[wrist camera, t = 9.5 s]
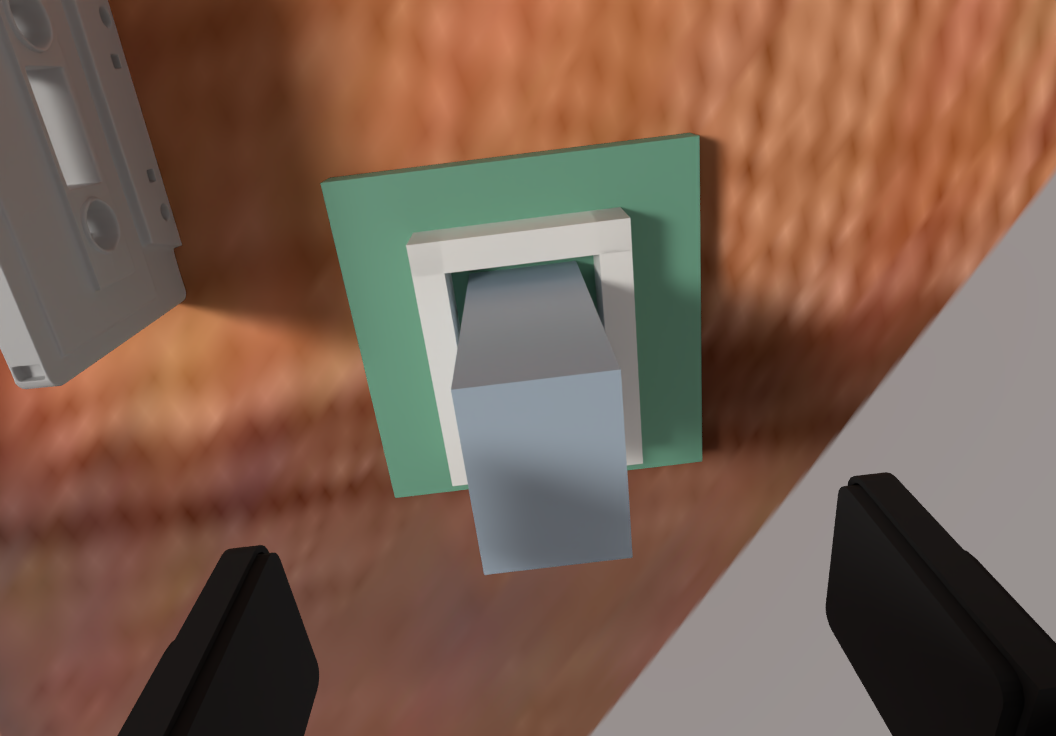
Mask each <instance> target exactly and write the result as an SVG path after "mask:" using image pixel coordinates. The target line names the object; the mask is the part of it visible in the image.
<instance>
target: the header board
mask: <svg viewBox="0 0 1056 736" xmlns="http://www.w3.org/2000/svg"><path fill="white" fill-rule="evenodd" d="M320 184H321V188H322V192H323V196H324V200H325V205H326V209H327V213H328V217H329V221H330V226H331V230H332V234H333V238H334V242H335V247H336V251H337V255H338V259H339V263H340V268H341V272H342V276H343V280H344V285H345V289H346V293H347V297H348V301H349V306H350V310H351V314H352V318H353V322H354V327H355V331H356V335H357V339H358V343H359V348H360V352H361V356H362V360H363V364H364V369H365V373H366V377H367V381H368V385H369V390H370V394H371V398H372V402H373V407H374V411H375V415H376V419H377V423H378V428H379V432H380V436H381V440H382V444H383V449H384V453H385V457H386V461H387V465H388V470H389V474H390V478H391V482H392V486H393V491H394V495H395V498H398V497H407V496H415V495H424V494H432V493H440V492H449V491H457V490H466V489H469V487H468V482H467V476H466V471H465V465H464V460H463V454H462V449H461V443H460V437H459V432H458V426H457V421H456V415H455V410H454V404H453V399H452V393H451V386H452V380H453V374H454V367H455V361H456V355H457V349H458V342H459V336H460V330H461V323H462V317H463V311H464V305H465V298H466V292H467V286H468V279H469V274H471V273H479V272H487V271H495V270H503V269H512V268H520V267H528V266H536V265H544V264H553V263H561V262H569V261H576V262H577V265H578V267H579V269H580V272H581V274H582V277H583V279H584V282H585V284H586V286H587V289H588V291H589V294H590V296H591V299H592V301H593V303H594V306H595V308H596V311H597V313H598V315H599V318H600V320H601V323H602V325H603V328H604V330H605V332H606V335H607V337H608V340H609V342H610V344H611V347H612V349H613V352H614V354H615V357H616V359H617V361H618V364H619V366H620V369H621V380H622V396H623V413H624V429H625V445H626V461H627V470H633V469H642V468H650V467H659V466H667V465H675V464H684V463H692V462H701V461H702V383H701V264H700V146H699V135H695V134H692V133H684V134H676V135H668V136H660V137H652V138H644V139H636V140H628V141H620V142H612V143H604V144H596V145H588V146H580V147H572V148H564V149H556V150H548V151H540V152H532V153H524V154H516V155H508V156H500V157H492V158H484V159H476V160H468V161H460V162H452V163H444V164H436V165H428V166H420V167H412V168H404V169H396V170H388V171H380V172H372V173H364V174H356V175H348V176H340V177H332V178H328V179H327V180H325V181H323V182H321V183H320Z"/></svg>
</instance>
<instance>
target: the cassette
mask: <svg viewBox="0 0 1056 736" xmlns="http://www.w3.org/2000/svg"><path fill="white" fill-rule="evenodd" d="M181 245H182V243H181V240H180V237H179V233H178V230H177V227H176V223H175V220H174V217H173V213H172V210H171V207H170V204H169V200H168V197H167V194H166V190H165V187H164V184H163V181H162V177H161V174H160V171H159V167H158V164H157V161H156V157H155V154H154V151H153V148H152V144H151V141H150V138H149V134H148V131H147V128H146V124H145V121H144V118H143V115H142V111H141V108H140V105H139V101H138V98H137V95H136V91H135V88H134V85H133V82H132V78H131V75H130V72H129V68H128V65H127V62H126V58H125V55H124V52H123V49H122V45H121V42H120V39H119V35H118V32H117V29H116V25H115V22H114V19H113V16H112V12H111V9H110V6H109V2H108V0H0V348H1V351H2V353H3V355H4V357H5V360H6V362H7V364H8V366H9V369H10V371H11V373H12V376H13V378H14V381H15V383H16V384H17V385H18V386H19V387H20V388H22V389H31V388H42V387H52V386H61V385H63V384H65V383H66V382H68V381H69V380H71V379H72V378H74V377H75V376H76V375H78V374H79V373H81V372H82V371H84V370H85V369H86V368H88V367H89V366H91V365H92V364H94V363H95V362H97V361H98V360H99V359H101V358H102V357H104V356H105V355H107V354H108V353H109V352H111V351H112V350H114V349H115V348H117V347H118V346H119V345H121V344H122V343H124V342H125V341H127V340H128V339H129V338H131V337H132V336H134V335H135V334H137V333H138V332H139V331H141V330H142V329H144V328H145V327H147V326H148V325H149V324H151V323H152V322H154V321H155V320H157V319H158V318H160V317H161V316H162V315H164V314H165V313H167V312H168V311H170V310H171V309H172V308H174V307H175V306H177V305H178V304H180V303H181V302H182V301H184V299H185V297H186V291H185V287H184V284H183V281H182V278H181V274H180V271H179V268H178V265H177V261H176V258H175V254H174V248H176V247H179V246H181Z"/></svg>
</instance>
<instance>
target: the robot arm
mask: <svg viewBox="0 0 1056 736" xmlns="http://www.w3.org/2000/svg"><path fill="white" fill-rule="evenodd" d="M826 615H827V619H828V622H829V625H830V627H831V630H832V632H833V633H834V635H835V637H836V638H837V640H838V642H839V644H840V645H841V647H842V649H843V651H844V652H845V654H846V655H847V657H848V659H849V661H850V663H851V664H852V666H853V668H854V670H855V671H856V673H857V675H858V677H859V678H860V680H861V682H862V684H863V685H864V687H865V689H866V691H867V692H868V694H869V696H870V697H871V699H872V701H873V702H874V704H875V706H876V708H877V710H878V711H879V713H880V715H881V716H882V718H883V720H884V722H885V724H886V725H887V727H888V729H889V730H890V732H891V734H892V736H1056V643H1055V642H1054V641H1053V640H1052V639H1051V638H1050V637H1049V635H1048V634H1047V633H1045V631H1044V630H1043V629H1042V628H1041V627H1040V626H1039V625H1038V624H1037V623H1036V622H1035V621H1034V620H1033V618H1032V617H1031V616H1030V615H1029V614H1028V613H1027V612H1026V611H1025V610H1024V609H1023V608H1022V607H1021V606H1020V605H1019V604H1018V603H1017V602H1016V600H1015V599H1014V598H1013V597H1012V596H1011V595H1010V594H1009V593H1008V592H1007V591H1006V590H1005V589H1004V588H1003V587H1002V586H1001V585H1000V584H999V582H998V581H996V579H995V578H994V577H993V576H992V575H991V574H990V573H989V572H988V571H987V570H986V569H985V568H984V567H983V565H982V564H980V562H979V561H978V560H977V559H976V558H975V557H973V556H972V555H971V554H970V553H969V552H967V551H965V550H963V549H962V547H961V546H960V545H959V544H958V543H957V542H956V541H955V540H954V539H953V538H952V537H951V536H950V535H949V534H948V533H947V531H945V529H944V528H943V527H942V526H941V525H940V524H939V523H938V522H937V521H936V520H935V519H934V518H933V517H932V516H931V514H930V513H929V512H928V511H927V510H926V509H925V508H924V507H923V506H922V505H921V504H920V503H919V502H918V500H917V499H916V498H915V497H914V496H913V495H912V494H911V493H910V492H909V491H908V490H907V489H906V488H905V487H904V486H903V484H902V483H901V482H900V481H899V480H898V479H897V478H896V477H895V476H894V475H892V474H891V473H877V474H868V475H860V476H853V477H851V478H850V480H849V481H848V486H844V487H841V488H840V490H839V493H838V501H837V510H836V518H835V527H834V537H833V545H832V554H831V564H830V572H829V582H828V590H827V598H826ZM318 683H319V668H318V663H317V660H316V658H315V655H314V652H313V649H312V646H311V644H310V641H309V638H308V635H307V633H306V630H305V627H304V624H303V621H302V619H301V616H300V613H299V610H298V608H297V605H296V602H295V599H294V596H293V594H292V591H291V588H290V585H289V583H288V580H287V577H286V574H285V571H284V569H283V566H282V563H281V560H280V558H279V556H278V555H277V554H276V553H269V552H268V550H267V548H266V547H265V546H262V545H258V546H250V547H241V548H233V549H228V550H226V551H225V552H224V553H223V554H222V556H221V558H220V560H219V561H218V563H217V565H216V567H215V569H214V570H213V572H212V574H211V576H210V578H209V579H208V581H207V583H206V585H205V587H204V588H203V590H202V592H201V594H200V596H199V597H198V599H197V601H196V603H195V605H194V606H193V608H192V610H191V612H190V614H189V615H188V617H187V619H186V621H185V623H184V624H183V626H182V628H181V630H180V632H179V633H178V635H177V637H176V639H175V640H174V641H173V642H171V644H170V645H169V647H168V648H167V649H166V651H165V652H164V654H163V656H162V658H161V659H160V661H159V663H158V665H157V666H156V668H155V670H154V672H153V674H152V675H151V677H150V679H149V681H148V682H147V684H146V686H145V688H144V690H143V691H142V693H141V695H140V697H139V698H138V700H137V702H136V704H135V706H134V707H133V709H132V711H131V713H130V715H129V716H128V718H127V720H126V722H125V723H124V725H123V727H122V729H121V731H120V732H119V734H118V736H304V734H305V730H306V727H307V723H308V720H309V716H310V713H311V709H312V706H313V702H314V699H315V695H316V692H317V688H318Z"/></svg>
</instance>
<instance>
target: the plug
mask: <svg viewBox="0 0 1056 736" xmlns="http://www.w3.org/2000/svg"><path fill="white" fill-rule="evenodd" d="M451 393H452V399H453V404H454V410H455V415H456V421H457V426H458V432H459V437H460V443H461V449H462V454H463V460H464V465H465V471H466V476H467V482H468V487H469V493H470V498H471V504H472V510H473V515H474V521H475V526H476V532H477V537H478V543H479V548H480V554H481V560H482V565H483V571H484V575H487V574H496V573H504V572H513V571H521V570H530V569H539V568H547V567H556V566H564V565H573V564H581V563H590V562H599V561H607V560H616V559H624V558H632V542H631V525H630V509H629V493H628V477H627V461H626V445H625V429H624V413H623V396H622V380H621V369H620V366H619V364H618V361H617V359H616V357H615V354H614V352H613V349H612V347H611V344H610V342H609V340H608V337H607V335H606V332H605V330H604V328H603V325H602V323H601V320H600V318H599V315H598V313H597V311H596V308H595V306H594V303H593V301H592V299H591V296H590V294H589V291H588V289H587V286H586V284H585V282H584V279H583V277H582V274H581V272H580V269H579V267H578V265H577V262H576V261H569V262H561V263H553V264H544V265H536V266H528V267H520V268H512V269H503V270H495V271H487V272H479V273H471V274H469V279H468V286H467V292H466V298H465V305H464V311H463V317H462V323H461V330H460V336H459V342H458V349H457V355H456V361H455V367H454V374H453V380H452V386H451Z"/></svg>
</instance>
